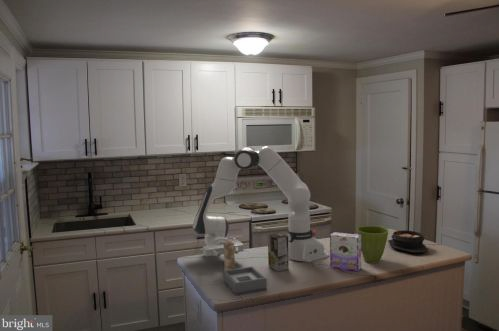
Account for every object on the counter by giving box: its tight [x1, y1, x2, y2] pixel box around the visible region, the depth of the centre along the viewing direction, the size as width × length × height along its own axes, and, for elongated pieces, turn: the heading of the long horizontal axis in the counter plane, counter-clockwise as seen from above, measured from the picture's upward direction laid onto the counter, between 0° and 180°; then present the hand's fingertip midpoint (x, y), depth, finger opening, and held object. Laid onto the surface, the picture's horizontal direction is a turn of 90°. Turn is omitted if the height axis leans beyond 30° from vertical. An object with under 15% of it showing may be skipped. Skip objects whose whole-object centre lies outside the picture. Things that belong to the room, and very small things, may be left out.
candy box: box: [329, 231, 362, 272], centre depth 196 cm, size 14×6×16 cm, turn 59°
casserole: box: [387, 230, 430, 254], centre depth 224 cm, size 25×19×8 cm
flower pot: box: [356, 225, 389, 264], centre depth 206 cm, size 15×15×16 cm
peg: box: [223, 241, 236, 271], centre depth 196 cm, size 4×4×14 cm
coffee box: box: [267, 232, 290, 272], centre depth 199 cm, size 9×6×16 cm
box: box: [222, 266, 268, 296], centre depth 178 cm, size 14×16×5 cm
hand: (228, 253), depth 198 cm, fingers open, 8 cm apart
